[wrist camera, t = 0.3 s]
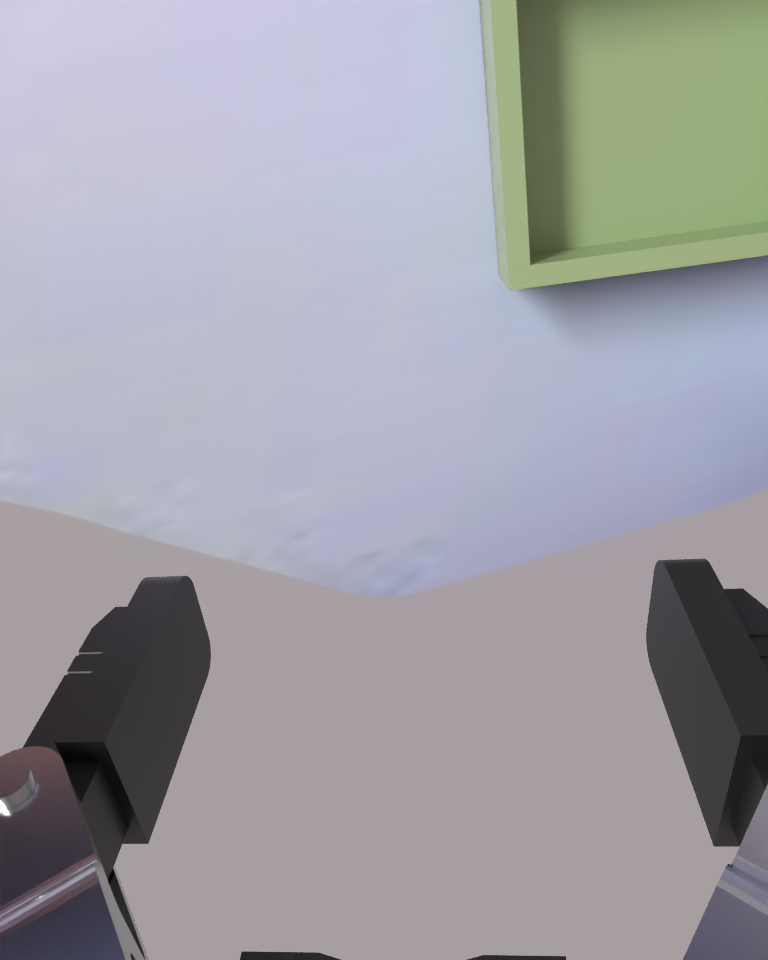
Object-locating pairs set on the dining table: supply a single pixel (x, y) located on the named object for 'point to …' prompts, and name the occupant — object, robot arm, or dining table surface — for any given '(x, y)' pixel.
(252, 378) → the dining table surface
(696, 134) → the tray
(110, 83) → the dining table surface
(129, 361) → the dining table surface
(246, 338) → the dining table surface
